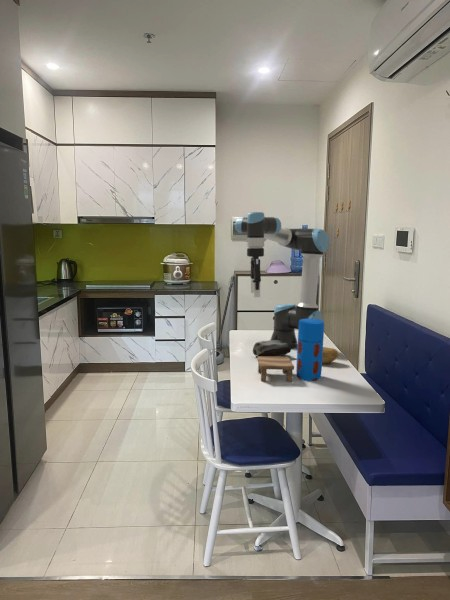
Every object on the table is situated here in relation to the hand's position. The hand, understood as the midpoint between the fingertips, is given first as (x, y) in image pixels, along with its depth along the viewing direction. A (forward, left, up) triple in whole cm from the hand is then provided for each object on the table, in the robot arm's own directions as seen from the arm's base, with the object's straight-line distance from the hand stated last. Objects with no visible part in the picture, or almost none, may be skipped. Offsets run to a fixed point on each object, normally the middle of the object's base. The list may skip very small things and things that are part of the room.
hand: (255, 295), depth 196 cm
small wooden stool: (+12, +8, -34) cm, 37 cm away
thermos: (+12, +23, -35) cm, 43 cm away
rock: (-18, +11, -35) cm, 41 cm away
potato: (-9, +35, -35) cm, 50 cm away
